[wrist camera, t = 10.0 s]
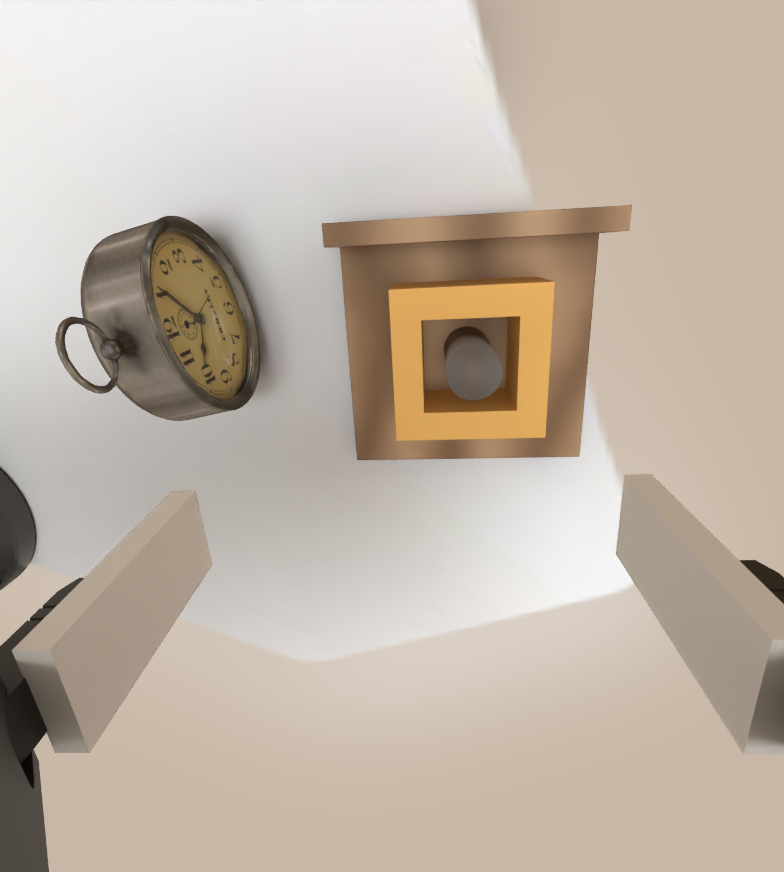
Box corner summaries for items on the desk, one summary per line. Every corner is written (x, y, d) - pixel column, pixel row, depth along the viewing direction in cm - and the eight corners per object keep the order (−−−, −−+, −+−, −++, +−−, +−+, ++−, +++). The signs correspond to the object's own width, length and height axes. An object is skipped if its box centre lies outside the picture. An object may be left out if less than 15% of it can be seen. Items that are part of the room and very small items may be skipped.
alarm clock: (281, 377, 36) (175, 470, 21) (214, 393, 37) (66, 493, 22) (229, 219, 33) (56, 196, 18) (156, 240, 34) (-69, 236, 19)
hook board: (359, 453, 38) (341, 506, 31) (341, 227, 33) (313, 221, 25) (574, 450, 37) (612, 503, 29) (594, 212, 31) (647, 201, 23)
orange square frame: (401, 415, 36) (396, 440, 31) (394, 283, 32) (388, 289, 28) (530, 411, 35) (545, 437, 30) (536, 276, 32) (554, 281, 27)
